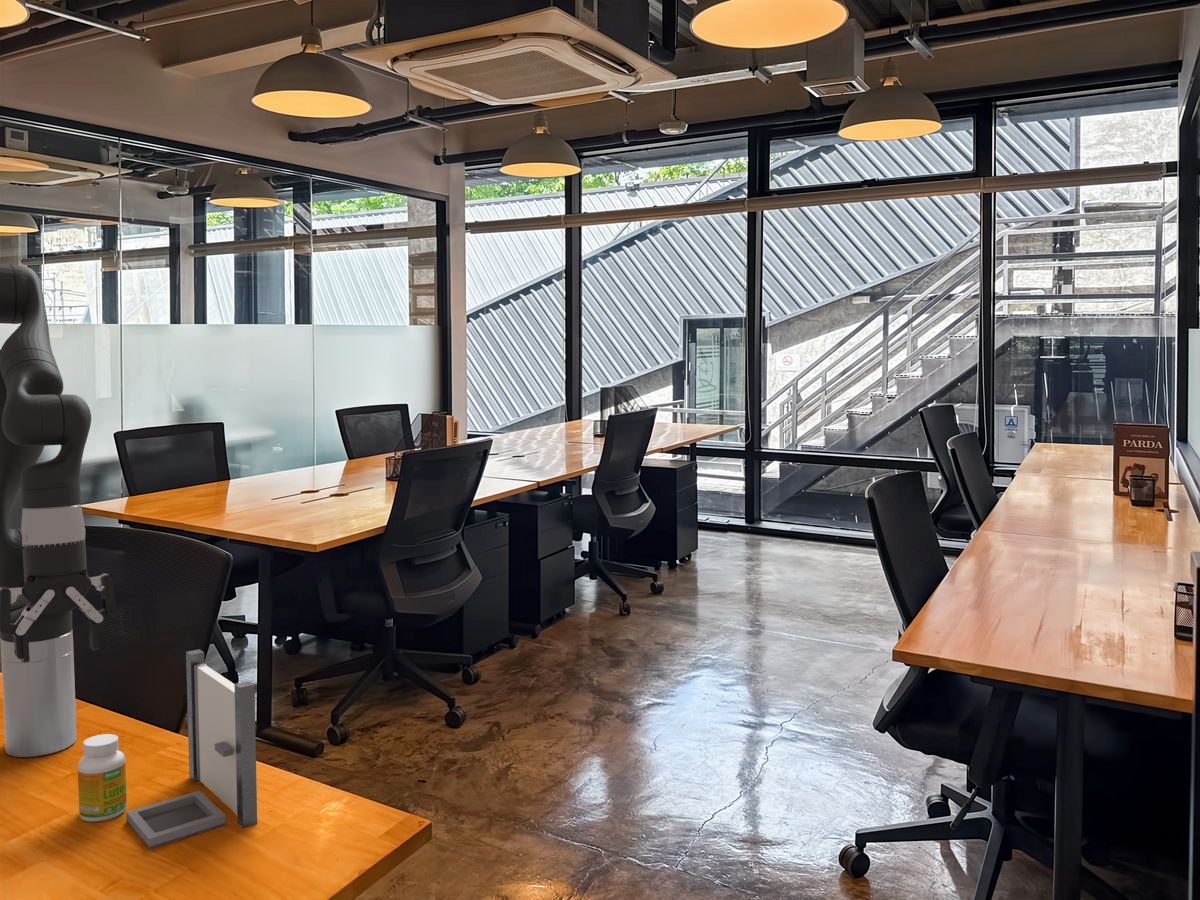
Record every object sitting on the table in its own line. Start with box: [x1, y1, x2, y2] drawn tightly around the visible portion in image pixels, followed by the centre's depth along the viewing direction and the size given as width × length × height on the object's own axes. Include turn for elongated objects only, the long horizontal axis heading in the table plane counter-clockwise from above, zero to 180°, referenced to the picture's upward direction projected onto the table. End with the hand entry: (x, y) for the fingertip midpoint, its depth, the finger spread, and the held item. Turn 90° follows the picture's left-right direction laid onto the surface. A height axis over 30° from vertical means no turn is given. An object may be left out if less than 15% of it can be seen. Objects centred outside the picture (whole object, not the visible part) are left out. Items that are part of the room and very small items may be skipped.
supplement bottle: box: [77, 733, 127, 823], centre depth 119 cm, size 5×5×10 cm
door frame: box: [185, 649, 258, 829], centre depth 122 cm, size 19×2×18 cm, turn 43°
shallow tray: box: [125, 790, 226, 850], centre depth 116 cm, size 9×9×1 cm
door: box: [194, 663, 237, 815], centre depth 122 cm, size 15×3×16 cm, turn 43°
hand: (60, 654), depth 128 cm, fingers open, 8 cm apart
